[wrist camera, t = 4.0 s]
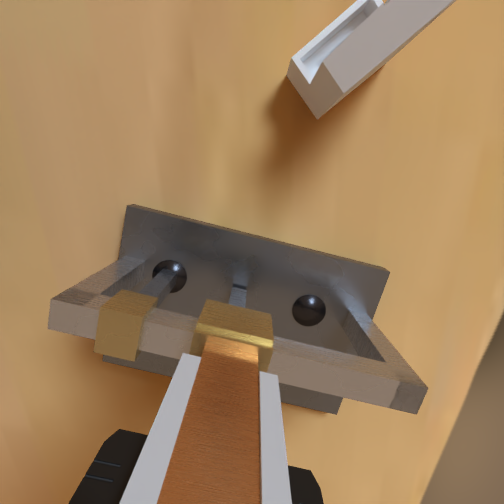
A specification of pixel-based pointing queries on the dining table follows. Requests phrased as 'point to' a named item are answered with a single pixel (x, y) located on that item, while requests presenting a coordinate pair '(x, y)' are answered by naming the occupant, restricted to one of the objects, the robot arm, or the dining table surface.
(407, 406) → the grey bracket frame
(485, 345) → the dining table surface
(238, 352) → the sliding leg
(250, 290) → the bolt plate
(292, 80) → the white wedge bracket
